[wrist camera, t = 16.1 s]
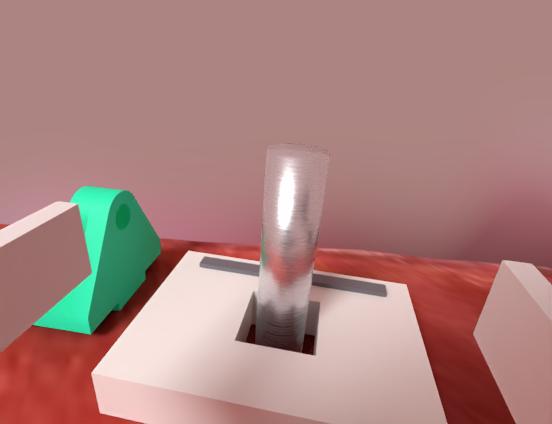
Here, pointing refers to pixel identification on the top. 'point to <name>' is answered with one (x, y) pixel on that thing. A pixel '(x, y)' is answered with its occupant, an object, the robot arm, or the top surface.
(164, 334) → the hole plate
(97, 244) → the camera mount
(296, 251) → the long pin
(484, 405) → the top surface
